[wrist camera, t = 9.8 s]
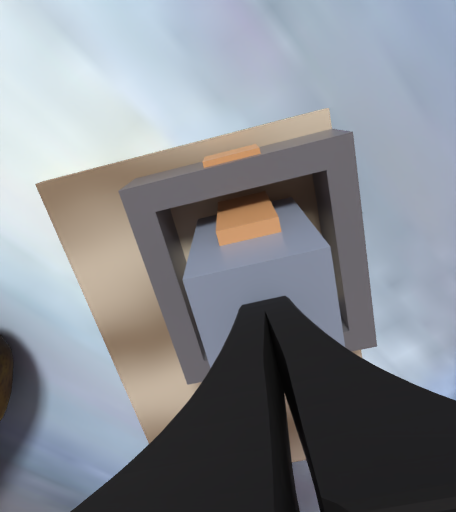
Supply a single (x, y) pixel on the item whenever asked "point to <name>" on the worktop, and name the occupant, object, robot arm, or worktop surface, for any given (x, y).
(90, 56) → the worktop surface
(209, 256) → the plug
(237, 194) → the board
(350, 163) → the frame
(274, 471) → the robot arm
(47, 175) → the worktop surface
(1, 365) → the potato
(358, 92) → the worktop surface
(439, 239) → the worktop surface
